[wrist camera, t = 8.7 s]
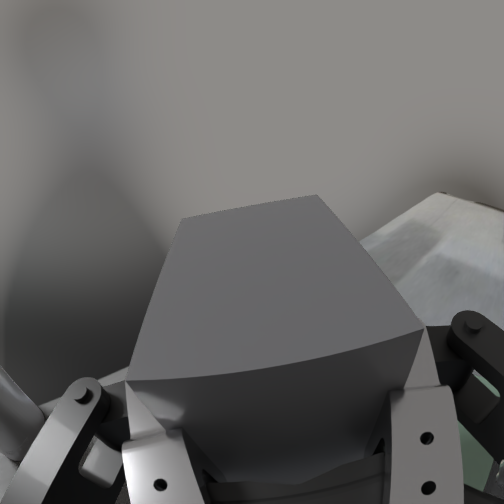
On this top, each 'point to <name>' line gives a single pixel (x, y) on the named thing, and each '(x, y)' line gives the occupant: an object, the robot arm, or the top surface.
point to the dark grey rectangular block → (272, 341)
